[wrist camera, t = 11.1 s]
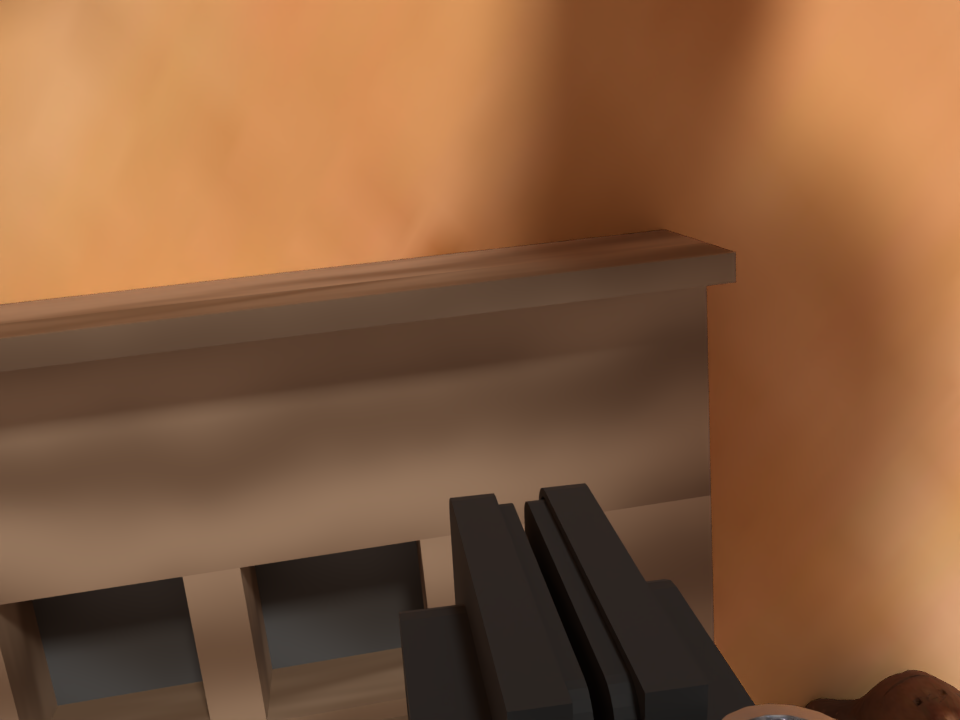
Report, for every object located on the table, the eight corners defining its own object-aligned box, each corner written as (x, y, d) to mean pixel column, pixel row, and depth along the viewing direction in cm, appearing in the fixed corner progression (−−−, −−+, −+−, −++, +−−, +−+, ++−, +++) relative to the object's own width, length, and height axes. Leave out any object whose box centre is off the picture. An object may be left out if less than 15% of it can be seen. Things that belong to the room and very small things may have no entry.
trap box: (-334, 342, 31) (-496, 396, 25) (665, 229, 36) (735, 252, 30) (-186, 779, 36) (-292, 915, 30) (678, 629, 41) (741, 720, 35)
